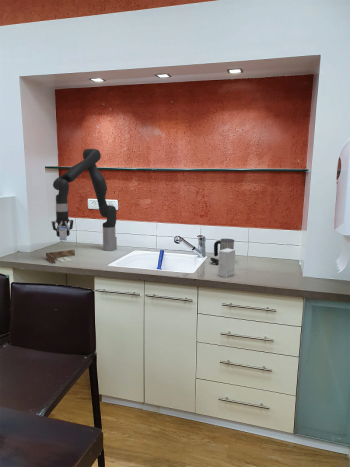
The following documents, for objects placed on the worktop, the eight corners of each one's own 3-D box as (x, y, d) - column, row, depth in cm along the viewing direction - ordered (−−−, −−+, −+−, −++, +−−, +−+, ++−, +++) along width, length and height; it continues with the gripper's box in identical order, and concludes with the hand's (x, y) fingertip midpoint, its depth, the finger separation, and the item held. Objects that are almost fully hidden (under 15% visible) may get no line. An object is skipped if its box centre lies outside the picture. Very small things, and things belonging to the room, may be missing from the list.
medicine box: (59, 238, 229) (59, 225, 228) (67, 238, 230) (66, 225, 229) (59, 240, 222) (58, 227, 220) (66, 240, 223) (66, 226, 221)
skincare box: (226, 272, 203) (227, 247, 200) (234, 274, 199) (235, 249, 196) (217, 275, 197) (218, 250, 194) (226, 277, 193) (227, 251, 190)
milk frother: (234, 260, 231) (235, 238, 228) (231, 266, 216) (232, 243, 213) (213, 259, 235) (214, 237, 232) (208, 264, 220) (209, 241, 217)
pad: (66, 257, 235) (66, 256, 235) (72, 260, 226) (72, 260, 226) (56, 258, 231) (56, 258, 231) (61, 262, 222) (61, 261, 222)
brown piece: (74, 255, 241) (73, 249, 241) (82, 259, 230) (82, 253, 229) (46, 258, 230) (45, 253, 229) (52, 263, 218) (52, 257, 218)
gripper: (52, 211, 216) (53, 238, 219) (75, 210, 224) (76, 236, 227) (48, 210, 222) (50, 236, 225) (70, 209, 230) (71, 234, 233)
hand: (63, 236), depth 226 cm, fingers closed on medicine box, 5 cm apart
